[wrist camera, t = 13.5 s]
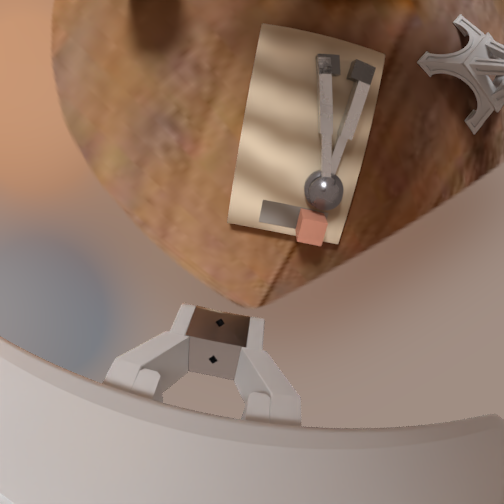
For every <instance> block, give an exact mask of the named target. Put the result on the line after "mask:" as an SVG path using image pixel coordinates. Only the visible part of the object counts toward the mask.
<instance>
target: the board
mask: <svg viewBox="0 0 504 504" xmlns="http://www.w3.org/2000/svg"><path fill="white" fill-rule="evenodd" d="M317 54H334V55H340V74H341V75H339V76H332V99H333V134H332V150H333V147H334V144H335V142H336V139H337V136H338V135H337V132H338V129H339V126H340V123H341V120H342V117H343V114H344V111H345V108H346V105H347V102H348V99H349V96H350V93H351V90H352V87H353V84H354V82H353V81H351V80H348V79H346V78H347V75H348V72H349V69H350V66H351V62H352V61H354V60H356V59H358V60H360V61H362V62H365V63H367V64H369V65H371V66H374V67H376V69H375V72H374V75H373V79H372V82H371V85H370V88H369V91H368V94H367V97H366V100H365V103H364V106H363V109H362V112H361V115H360V118H359V121H358V124H357V127H356V130H355V133H354V136H353V139H352V140H350V139H348V140H347V143H346V146H345V149H344V151H343V154H342V157H341V160H340V163H339V165H338V168H337V171H336V173H335V174H336V175H337V176H338V177H339V179H340V180H341V182H342V184H343V189H344V191H343V197H342V200H341V202H340V204H339V205H338V206H337V207H335V208H334V209H331V210H320V209H318V208H315V207H314V206H312V205H311V204H310V203H309V202H308V201H307V199H306V196H305V193H304V184H305V181H306V179H307V178H308V176H309V175H310V174H312V173H313V172H315V171H318V170H321V134H320V133H318V100H317V74H316V55H317ZM384 60H385V54H383V53H380V52H378V51H375V50H372V49H369V48H366V47H363V46H360V45H357V44H354V43H350V42H347V41H343V40H340V39H336V38H333V37H329V36H325V35H321V34H317V33H313V32H308V31H303V30H299V29H294V28H288V27H283V26H277V25H271V24H264V23H262V26H261V31H260V36H259V41H258V46H257V51H256V56H255V61H254V66H253V71H252V77H251V82H250V87H249V93H248V98H247V104H246V109H245V115H244V121H243V126H242V132H241V138H240V144H239V150H238V156H237V162H236V168H235V174H234V181H233V187H232V193H231V200H230V206H229V213H228V220H227V223H231V224H237V225H242V226H247V227H253V228H258V229H263V230H268V231H274V232H279V233H284V234H289V235H294V236H296V231H295V229H296V225H297V221H298V217H299V213H300V209H301V208H303V209H307V210H312V211H317V212H321V213H324V215H325V217H326V220H327V222H328V225H327V229H326V232H325V235H324V239H323V241H324V242H329V243H333V244H338V243H339V240H340V237H341V234H342V230H343V227H344V224H345V221H346V218H347V214H348V211H349V208H350V204H351V201H352V197H353V194H354V190H355V187H356V183H357V180H358V176H359V172H360V168H361V165H362V161H363V157H364V153H365V149H366V145H367V141H368V137H369V133H370V129H371V124H372V120H373V115H374V111H375V106H376V102H377V97H378V92H379V87H380V82H381V77H382V71H383V66H384Z"/></svg>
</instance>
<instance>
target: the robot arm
mask: <svg viewBox="0 0 504 504" xmlns="http://www.w3.org/2000/svg"><path fill="white" fill-rule="evenodd" d="M264 323H265V320H264V319H263V318H257V317H249V316H243V315H238V314H232V313H227V312H222V311H218V310H213V309H209V308H205V307H200V306H195V305H191V304H187V303H183V304H182V305H181V307H180V309H179V311H178V313H177V316H176V318H175V320H174V323H173V325H172V327H171V329H170V332H168V331H165V332H163V333H161V334H159V335H157V336H156V337H154V338H152V339H150V340H148V341H147V342H145V343H143V344H141V345H139V346H137V347H135V348H134V349H132V350H130V351H128V352H126V353H124V354H123V355H121V356H119V357H117V358H116V359H115V360H114V362H113V364H112V366H111V368H110V369H109V372H108V373H107V375H106V377H105V379H104V381H103V383H99V382H96V381H94V380H91V379H88V378H86V377H83V376H81V375H78V374H76V373H74V372H71V371H69V370H67V369H64V368H62V367H60V366H57V365H55V364H53V363H51V362H49V361H46V360H44V359H42V358H40V357H38V356H36V355H34V354H32V353H30V352H28V351H26V350H24V349H22V348H20V347H19V346H17V345H15V344H13V343H11V342H9V341H8V340H6V339H4V338H2V337H1V336H0V504H504V419H502V418H501V417H500V416H498V415H496V414H488V415H483V416H479V417H474V418H468V419H463V420H457V421H451V422H445V423H436V424H428V425H418V426H406V427H393V428H363V429H362V428H353V429H350V428H318V427H302V426H301V399H300V396H299V395H298V393H297V392H296V391H295V389H294V388H293V387H292V385H291V384H290V383H289V381H288V380H287V379H286V377H285V376H284V375H283V373H282V372H281V371H280V369H279V368H278V366H277V365H276V364H275V362H274V361H273V360H272V358H271V357H270V355H269V354H268V353H267V352H266V351H263V337H264ZM188 371H190V372H196V373H201V374H206V375H212V376H216V377H221V378H225V379H230V380H234V382H235V384H236V386H237V389H238V390H239V393H240V395H241V397H242V399H243V401H244V403H245V405H246V406H245V409H244V412H243V415H242V418H241V419H234V418H229V417H223V416H218V415H213V414H208V413H203V412H198V411H194V410H189V409H185V408H181V407H177V406H173V405H169V404H165V403H163V397H162V393H163V392H164V391H166V390H167V389H168V388H169V387H171V386H172V385H173V384H174V383H175V382H177V381H178V380H179V379H180V378H181V377H183V376H184V375H185V374H186V373H188Z"/></svg>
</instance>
